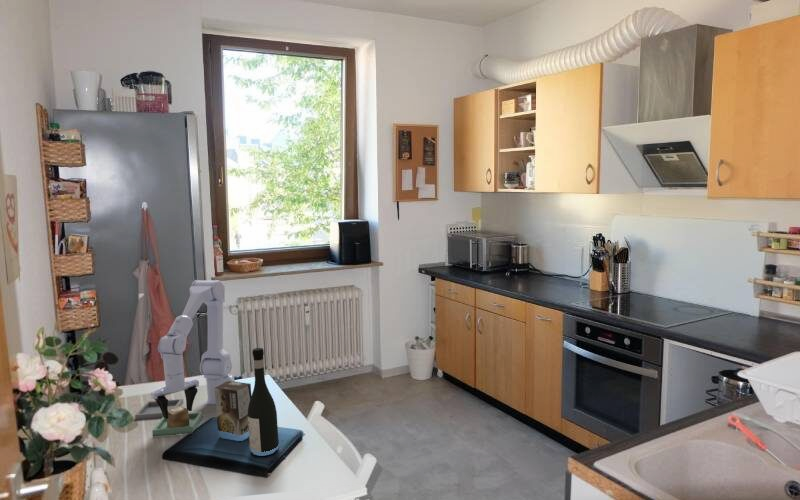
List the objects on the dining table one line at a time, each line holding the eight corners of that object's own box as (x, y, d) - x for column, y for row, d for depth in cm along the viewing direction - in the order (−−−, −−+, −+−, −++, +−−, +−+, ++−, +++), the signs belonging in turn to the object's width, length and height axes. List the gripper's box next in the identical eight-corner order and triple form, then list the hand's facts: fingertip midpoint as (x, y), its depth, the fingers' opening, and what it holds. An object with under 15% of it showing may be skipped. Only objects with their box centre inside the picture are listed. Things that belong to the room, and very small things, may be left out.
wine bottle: (253, 461, 152) (246, 354, 148) (247, 449, 159) (240, 348, 155) (282, 453, 155) (275, 349, 152) (275, 442, 162) (268, 343, 159)
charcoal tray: (183, 404, 196) (182, 398, 196) (173, 417, 184) (172, 412, 184) (147, 406, 195) (147, 401, 194) (135, 420, 183) (134, 415, 182)
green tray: (202, 417, 183) (202, 411, 183) (193, 433, 171) (192, 427, 171) (165, 420, 182) (164, 414, 182) (152, 436, 170) (152, 430, 170)
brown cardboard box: (182, 420, 180) (181, 405, 180) (189, 424, 177) (188, 409, 176) (167, 425, 176) (166, 410, 176) (174, 429, 173) (172, 414, 172)
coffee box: (255, 434, 169) (251, 383, 167) (241, 443, 163) (237, 390, 161) (232, 429, 173) (228, 380, 171) (217, 438, 167) (213, 387, 165)
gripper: (190, 364, 183) (194, 404, 184) (145, 376, 172) (149, 418, 174) (200, 368, 178) (203, 409, 179) (154, 381, 167) (158, 424, 169)
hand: (177, 414), depth 176 cm, fingers open, 7 cm apart
